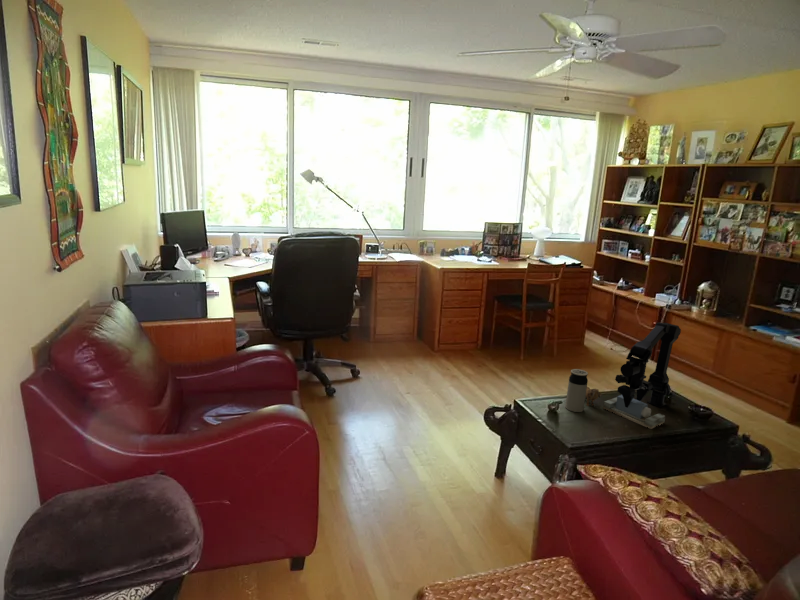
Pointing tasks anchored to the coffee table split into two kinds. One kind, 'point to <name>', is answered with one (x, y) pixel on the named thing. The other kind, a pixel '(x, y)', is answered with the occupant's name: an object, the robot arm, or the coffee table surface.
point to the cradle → (647, 422)
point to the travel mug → (576, 390)
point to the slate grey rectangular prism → (633, 407)
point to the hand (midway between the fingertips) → (632, 405)
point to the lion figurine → (592, 395)
